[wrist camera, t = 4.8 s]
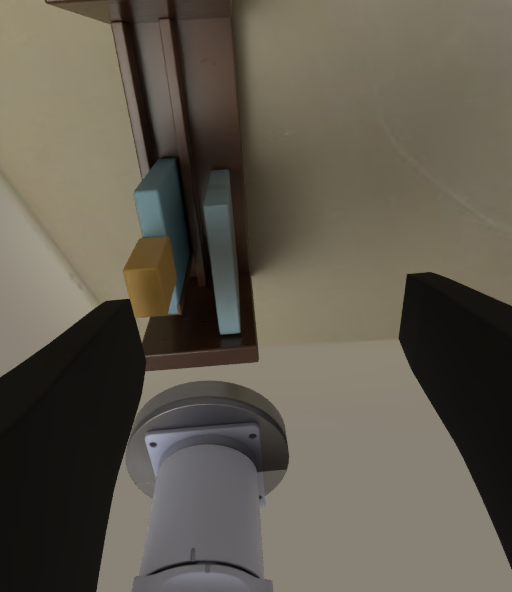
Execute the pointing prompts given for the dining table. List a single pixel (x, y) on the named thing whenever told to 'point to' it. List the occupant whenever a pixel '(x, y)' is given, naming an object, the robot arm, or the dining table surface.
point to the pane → (160, 245)
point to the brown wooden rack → (190, 164)
